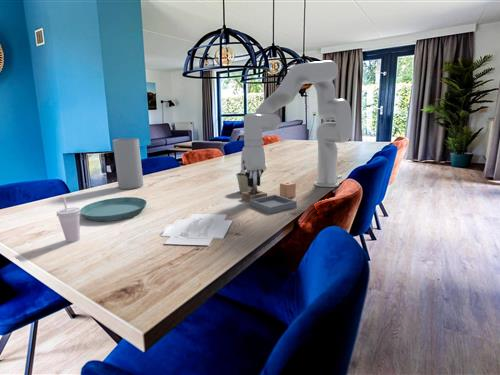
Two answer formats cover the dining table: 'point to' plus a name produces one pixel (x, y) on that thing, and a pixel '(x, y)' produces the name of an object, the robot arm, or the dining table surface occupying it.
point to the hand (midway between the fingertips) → (253, 185)
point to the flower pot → (243, 183)
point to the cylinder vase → (128, 163)
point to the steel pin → (254, 182)
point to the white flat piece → (197, 229)
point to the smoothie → (70, 222)
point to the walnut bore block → (249, 196)
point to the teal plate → (113, 209)
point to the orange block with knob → (288, 189)
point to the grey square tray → (273, 203)
